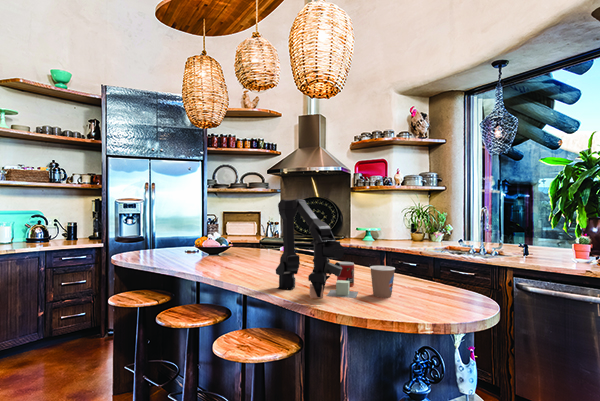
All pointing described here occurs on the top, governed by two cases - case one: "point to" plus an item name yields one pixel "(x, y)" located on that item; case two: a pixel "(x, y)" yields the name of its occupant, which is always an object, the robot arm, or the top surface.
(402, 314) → the top surface
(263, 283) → the top surface
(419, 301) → the top surface
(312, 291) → the pinkish brown cube
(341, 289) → the brick green
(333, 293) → the baseplate
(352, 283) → the canned food
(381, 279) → the coffee cup
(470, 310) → the top surface
